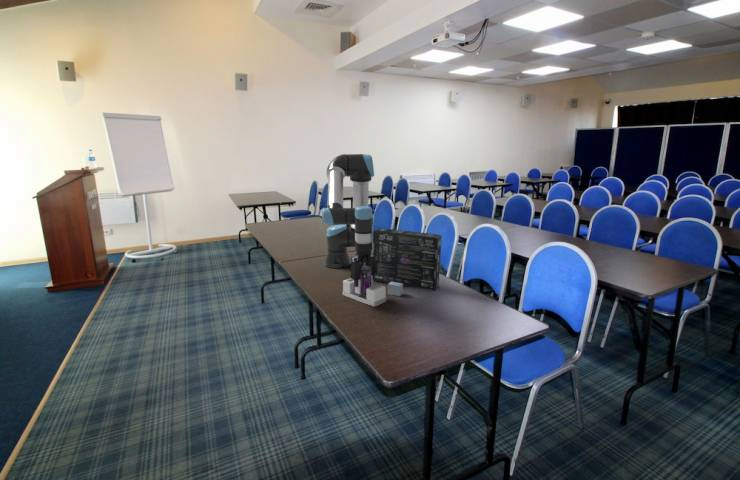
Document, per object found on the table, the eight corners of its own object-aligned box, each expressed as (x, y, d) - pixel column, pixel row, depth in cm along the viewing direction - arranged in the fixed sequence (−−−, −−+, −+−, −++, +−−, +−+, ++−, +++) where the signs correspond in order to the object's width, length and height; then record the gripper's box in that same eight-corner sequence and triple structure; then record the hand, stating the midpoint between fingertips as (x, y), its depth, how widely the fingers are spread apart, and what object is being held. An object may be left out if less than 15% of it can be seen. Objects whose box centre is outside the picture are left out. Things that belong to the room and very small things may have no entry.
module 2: (378, 294, 166) (378, 283, 165) (385, 297, 163) (385, 285, 162) (366, 299, 161) (366, 287, 160) (373, 302, 158) (374, 290, 157)
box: (439, 286, 183) (441, 233, 176) (435, 291, 176) (437, 236, 170) (377, 276, 196) (378, 227, 190) (372, 281, 190) (372, 230, 184)
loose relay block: (391, 291, 176) (391, 281, 175) (402, 293, 173) (402, 283, 172) (387, 294, 173) (387, 284, 171) (399, 296, 170) (399, 286, 169)
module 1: (354, 286, 176) (354, 275, 175) (361, 288, 173) (361, 277, 172) (343, 290, 171) (342, 279, 170) (349, 293, 168) (349, 281, 167)
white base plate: (354, 290, 177) (354, 286, 177) (386, 301, 164) (386, 297, 163) (342, 294, 171) (342, 290, 171) (374, 306, 158) (374, 302, 158)
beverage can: (368, 295, 163) (368, 269, 160) (353, 293, 165) (353, 268, 162) (373, 290, 169) (373, 265, 166) (359, 288, 171) (359, 263, 169)
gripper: (372, 236, 171) (372, 283, 176) (341, 244, 157) (342, 294, 162) (384, 239, 166) (384, 287, 171) (353, 247, 152) (353, 299, 157)
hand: (363, 290), depth 167 cm, fingers closed on beverage can, 7 cm apart
